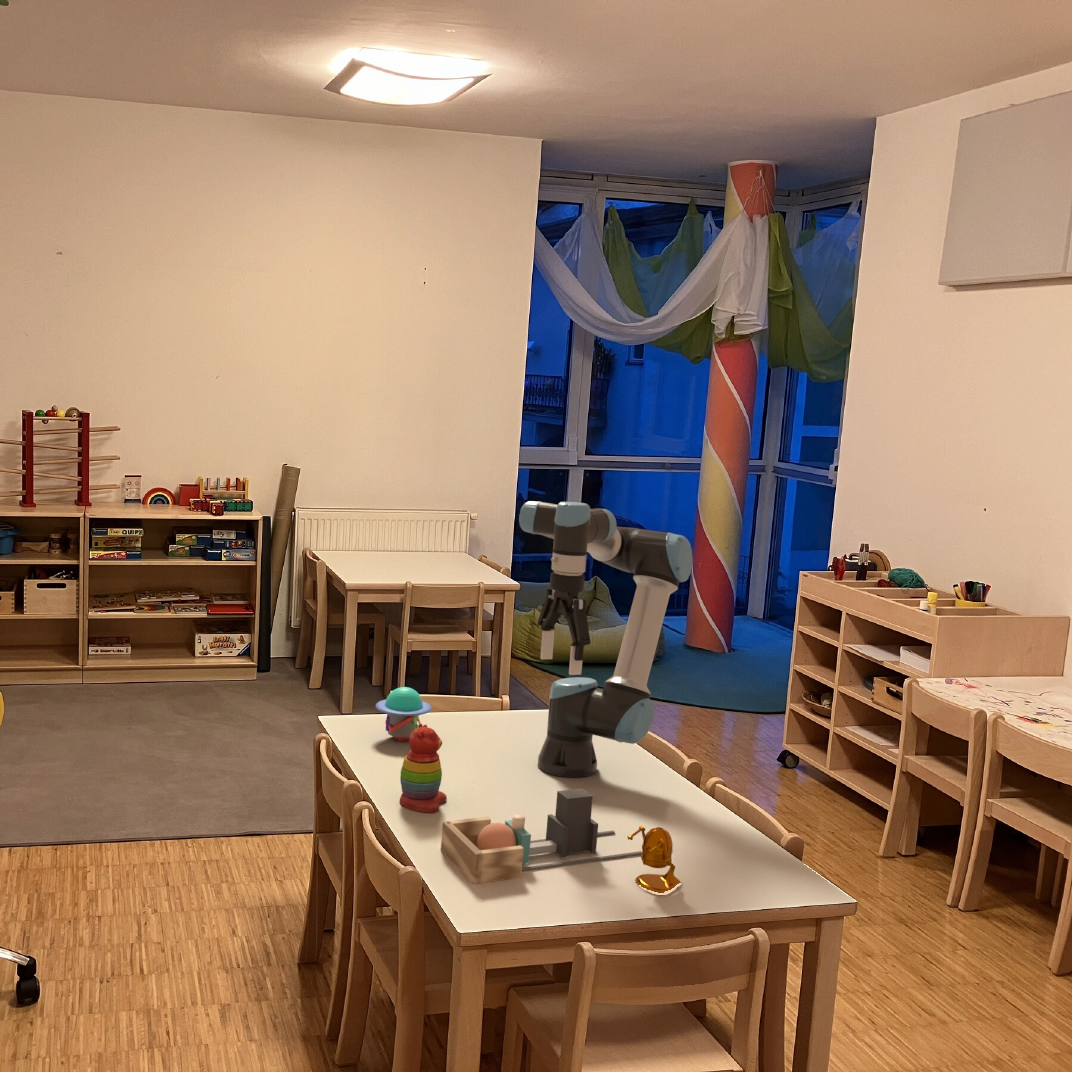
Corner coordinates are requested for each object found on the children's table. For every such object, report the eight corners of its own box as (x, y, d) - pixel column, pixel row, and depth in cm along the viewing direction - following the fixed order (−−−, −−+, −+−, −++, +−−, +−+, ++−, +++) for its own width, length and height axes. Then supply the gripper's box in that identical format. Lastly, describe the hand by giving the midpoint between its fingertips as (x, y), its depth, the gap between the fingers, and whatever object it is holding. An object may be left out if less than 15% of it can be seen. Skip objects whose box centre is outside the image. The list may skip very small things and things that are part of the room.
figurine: (621, 880, 229) (627, 823, 228) (666, 873, 234) (671, 816, 233) (646, 899, 222) (651, 839, 220) (691, 890, 227) (697, 832, 225)
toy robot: (426, 749, 300) (430, 697, 298) (369, 745, 300) (372, 692, 298) (432, 732, 315) (436, 682, 313) (378, 728, 315) (381, 678, 313)
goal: (485, 843, 242) (487, 816, 241) (521, 877, 227) (523, 848, 226) (440, 849, 237) (442, 821, 237) (473, 883, 222) (476, 854, 222)
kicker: (583, 838, 248) (588, 784, 246) (602, 852, 241) (607, 797, 239) (501, 848, 239) (505, 793, 237) (518, 864, 232) (523, 807, 230)
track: (612, 832, 254) (613, 830, 254) (642, 854, 243) (643, 852, 243) (493, 847, 240) (493, 845, 240) (519, 872, 230) (519, 869, 229)
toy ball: (520, 859, 236) (523, 822, 235) (505, 872, 229) (508, 835, 228) (485, 850, 239) (488, 814, 238) (469, 863, 232) (471, 826, 231)
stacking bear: (435, 814, 256) (440, 737, 254) (392, 808, 258) (396, 731, 256) (448, 798, 267) (453, 724, 264) (407, 792, 269) (411, 718, 266)
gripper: (527, 562, 263) (520, 653, 265) (580, 583, 241) (572, 682, 243) (556, 562, 266) (549, 652, 269) (611, 582, 244) (602, 680, 247)
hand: (560, 666), depth 256 cm, fingers open, 13 cm apart
